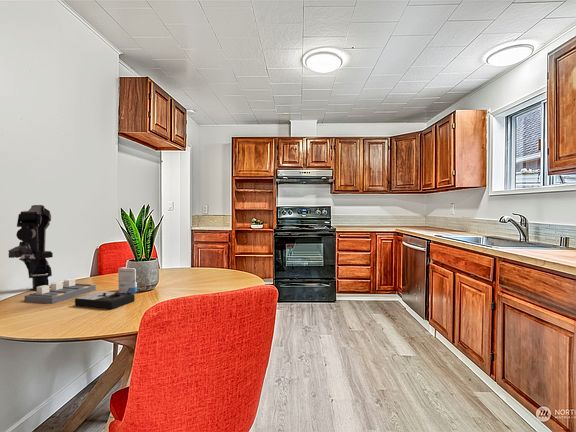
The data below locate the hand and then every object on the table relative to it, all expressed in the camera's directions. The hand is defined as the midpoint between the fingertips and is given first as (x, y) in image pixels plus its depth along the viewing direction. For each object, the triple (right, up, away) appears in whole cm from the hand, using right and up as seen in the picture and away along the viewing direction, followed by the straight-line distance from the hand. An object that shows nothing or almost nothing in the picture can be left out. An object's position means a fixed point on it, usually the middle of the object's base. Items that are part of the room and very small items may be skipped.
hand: (31, 273), depth 156 cm
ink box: (+39, -11, +11) cm, 42 cm away
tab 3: (+10, -8, +12) cm, 18 cm away
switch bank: (+11, -11, +5) cm, 16 cm away
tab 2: (+8, -8, +5) cm, 13 cm away
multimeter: (+38, -12, -9) cm, 41 cm away
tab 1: (+6, -9, -1) cm, 11 cm away
